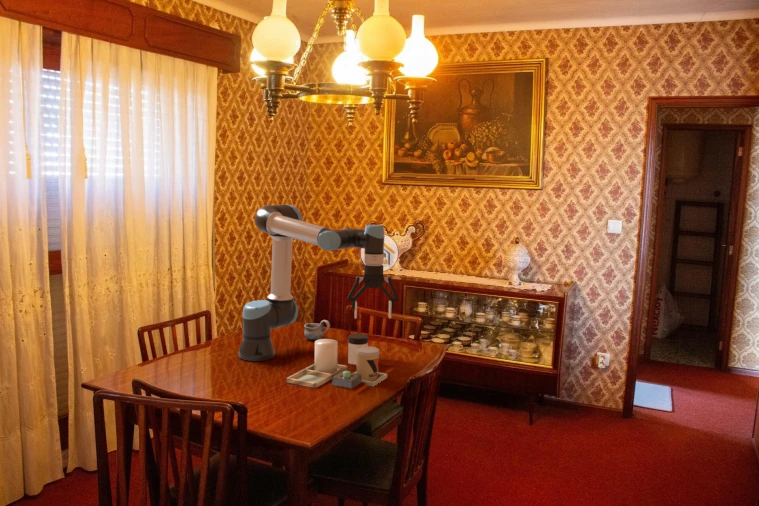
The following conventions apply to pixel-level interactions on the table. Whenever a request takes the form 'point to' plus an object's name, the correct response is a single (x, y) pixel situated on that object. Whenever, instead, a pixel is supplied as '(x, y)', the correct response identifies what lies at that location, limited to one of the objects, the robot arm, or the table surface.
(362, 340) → the jar
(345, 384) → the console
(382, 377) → the beige square frame
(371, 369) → the coffee cup
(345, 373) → the button
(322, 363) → the billet
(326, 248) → the robot arm
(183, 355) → the table surface
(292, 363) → the table surface
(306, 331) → the mug
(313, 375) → the tray
